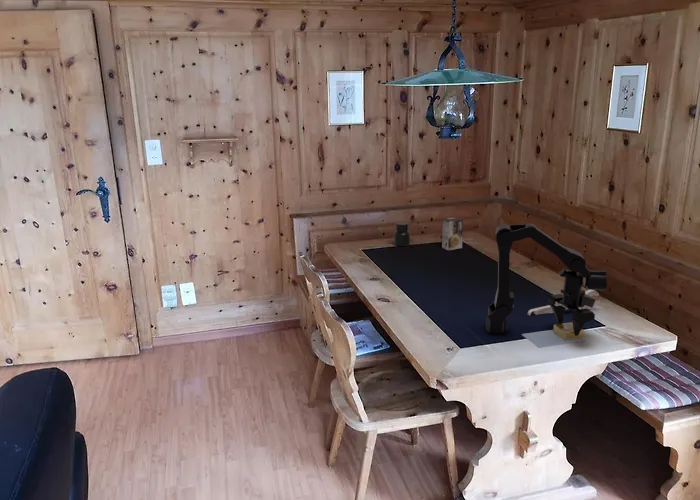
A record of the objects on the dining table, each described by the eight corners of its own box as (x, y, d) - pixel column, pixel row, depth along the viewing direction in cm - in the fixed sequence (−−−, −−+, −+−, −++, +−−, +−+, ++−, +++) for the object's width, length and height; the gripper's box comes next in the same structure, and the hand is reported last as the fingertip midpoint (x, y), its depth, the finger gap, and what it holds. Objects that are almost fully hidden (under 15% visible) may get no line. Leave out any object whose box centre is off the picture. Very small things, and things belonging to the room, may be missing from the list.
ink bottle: (411, 242, 318) (412, 221, 315) (409, 247, 310) (410, 225, 306) (394, 241, 320) (394, 221, 317) (392, 246, 312) (392, 224, 309)
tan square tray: (565, 340, 196) (565, 332, 195) (553, 332, 202) (553, 324, 201) (582, 338, 198) (583, 330, 197) (570, 330, 204) (571, 322, 203)
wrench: (527, 323, 220) (596, 306, 225) (530, 325, 218) (599, 308, 224) (527, 304, 217) (596, 287, 223) (529, 306, 216) (599, 289, 221)
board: (538, 350, 192) (539, 336, 190) (521, 336, 202) (522, 323, 200) (584, 343, 196) (586, 330, 194) (565, 330, 206) (566, 317, 205)
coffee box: (455, 245, 311) (456, 216, 307) (462, 248, 306) (463, 219, 301) (441, 247, 308) (442, 218, 303) (448, 250, 302) (449, 221, 297)
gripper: (611, 295, 188) (605, 338, 193) (575, 277, 205) (571, 317, 210) (582, 299, 185) (577, 342, 190) (548, 280, 203) (545, 320, 207)
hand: (568, 330), depth 199 cm, fingers open, 9 cm apart
